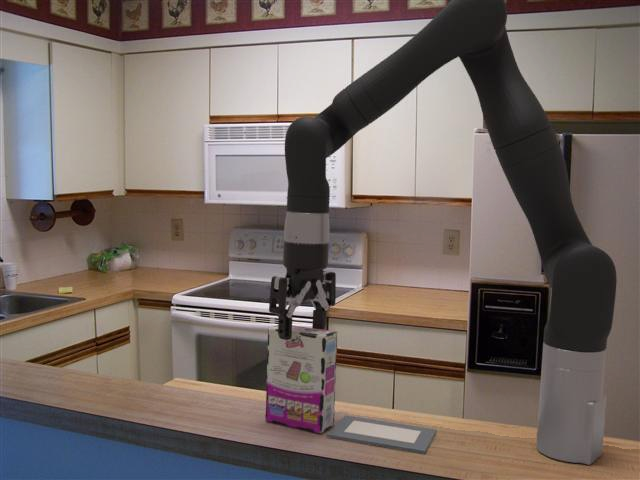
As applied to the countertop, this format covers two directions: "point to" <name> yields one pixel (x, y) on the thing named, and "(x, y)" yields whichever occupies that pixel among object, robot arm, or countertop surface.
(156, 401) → the countertop surface
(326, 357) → the candy bar box
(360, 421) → the card
